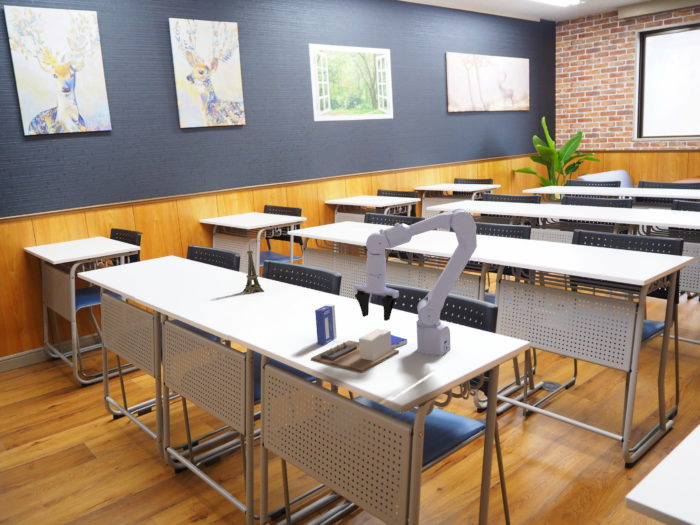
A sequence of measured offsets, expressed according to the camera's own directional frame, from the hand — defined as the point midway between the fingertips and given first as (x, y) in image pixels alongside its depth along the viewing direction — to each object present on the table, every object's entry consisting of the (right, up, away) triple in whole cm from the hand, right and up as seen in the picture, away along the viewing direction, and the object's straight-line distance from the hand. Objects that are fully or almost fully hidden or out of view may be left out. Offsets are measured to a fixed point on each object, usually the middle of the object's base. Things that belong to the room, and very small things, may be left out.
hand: (376, 317), depth 171 cm
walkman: (-15, -9, +13) cm, 22 cm away
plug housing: (0, -10, -3) cm, 11 cm away
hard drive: (-1, -7, +14) cm, 16 cm away
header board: (-6, -11, -2) cm, 13 cm away
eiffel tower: (-50, +1, +78) cm, 93 cm away
